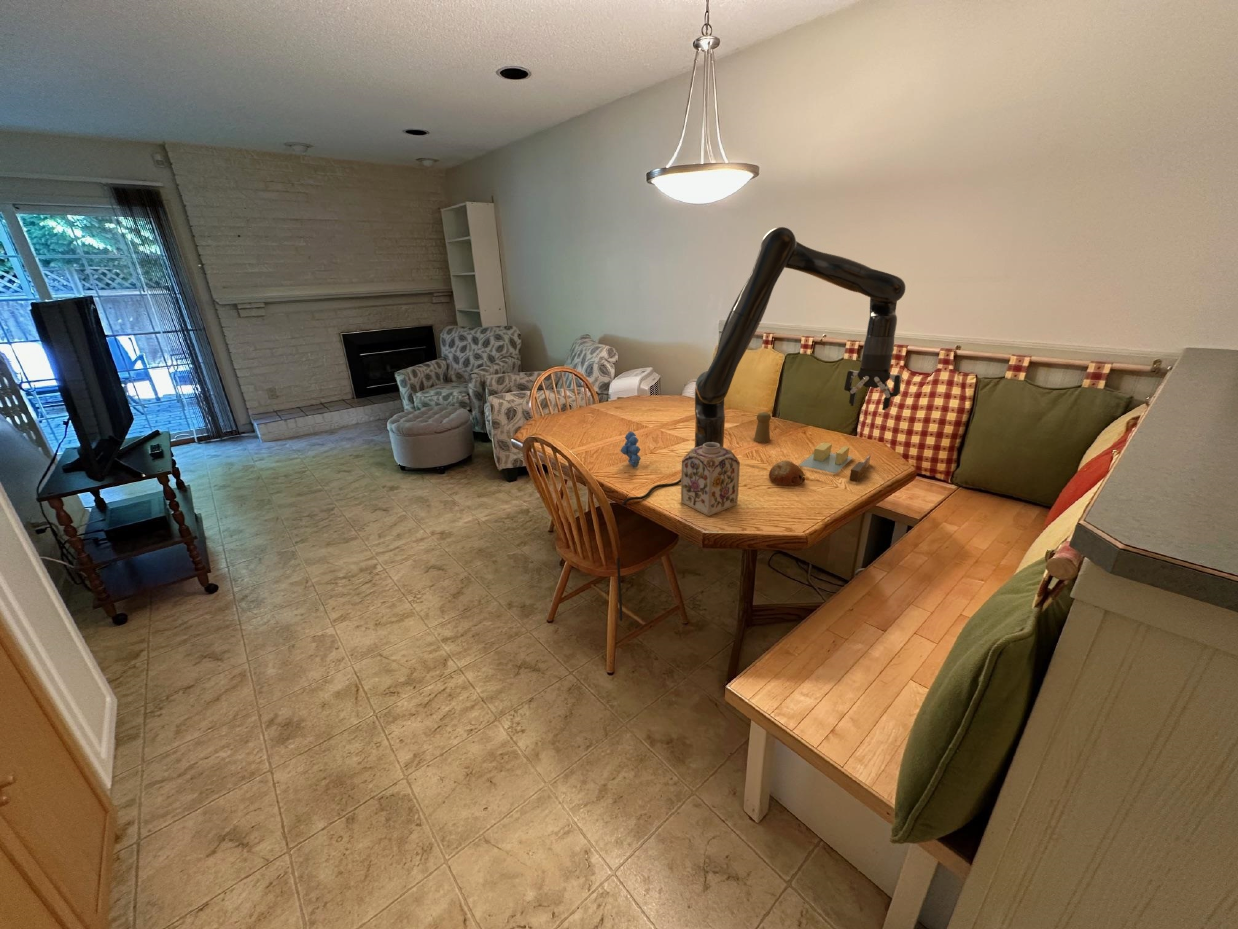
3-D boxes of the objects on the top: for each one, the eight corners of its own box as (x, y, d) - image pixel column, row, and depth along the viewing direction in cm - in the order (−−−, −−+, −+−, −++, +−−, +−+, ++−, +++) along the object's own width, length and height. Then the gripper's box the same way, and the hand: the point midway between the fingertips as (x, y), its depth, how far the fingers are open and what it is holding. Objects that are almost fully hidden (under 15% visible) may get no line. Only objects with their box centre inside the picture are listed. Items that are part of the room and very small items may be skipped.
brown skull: (783, 483, 157) (775, 460, 156) (812, 478, 149) (804, 453, 149) (768, 492, 150) (760, 468, 150) (797, 487, 143) (789, 462, 142)
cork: (753, 442, 185) (755, 414, 181) (754, 437, 190) (756, 410, 186) (769, 443, 183) (772, 415, 179) (770, 438, 188) (772, 411, 184)
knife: (856, 484, 145) (858, 471, 144) (848, 482, 147) (851, 469, 145) (871, 467, 157) (873, 454, 156) (864, 466, 159) (866, 453, 157)
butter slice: (840, 465, 158) (842, 453, 156) (834, 463, 159) (836, 452, 157) (847, 458, 163) (849, 447, 162) (842, 457, 164) (843, 446, 163)
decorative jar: (738, 505, 135) (742, 445, 128) (709, 517, 129) (711, 455, 122) (708, 491, 144) (710, 434, 137) (679, 502, 138) (680, 443, 131)
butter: (822, 461, 161) (823, 450, 160) (812, 459, 163) (814, 448, 162) (830, 454, 167) (831, 443, 165) (821, 452, 169) (822, 442, 167)
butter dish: (835, 476, 152) (836, 473, 151) (798, 468, 159) (798, 465, 159) (852, 459, 164) (853, 457, 164) (817, 452, 172) (817, 450, 171)
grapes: (616, 461, 171) (615, 428, 166) (634, 458, 172) (634, 426, 168) (625, 472, 160) (624, 438, 156) (644, 470, 161) (643, 436, 157)
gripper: (846, 351, 136) (839, 407, 142) (903, 355, 127) (892, 414, 133) (854, 348, 141) (846, 401, 147) (909, 351, 133) (898, 408, 139)
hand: (868, 407), depth 140 cm, fingers open, 8 cm apart
